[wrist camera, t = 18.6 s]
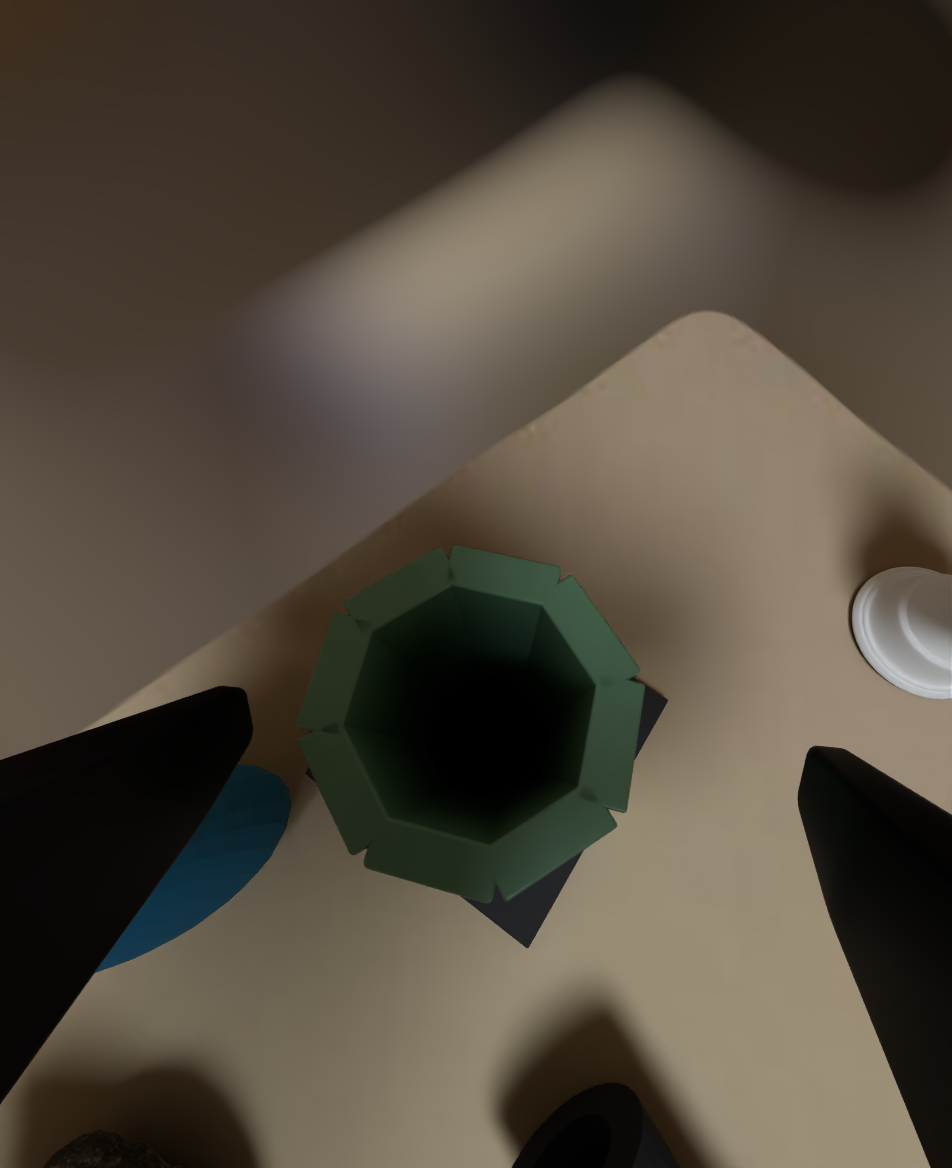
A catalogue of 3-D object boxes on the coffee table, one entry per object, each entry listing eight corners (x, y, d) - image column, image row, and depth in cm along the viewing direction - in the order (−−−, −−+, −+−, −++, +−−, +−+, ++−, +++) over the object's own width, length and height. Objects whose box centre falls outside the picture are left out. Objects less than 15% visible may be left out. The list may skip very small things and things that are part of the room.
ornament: (287, 726, 21) (115, 697, 12) (342, 833, 20) (197, 897, 11) (93, 849, 20) (-268, 927, 11) (137, 972, 19) (-231, 1182, 9)
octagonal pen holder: (601, 763, 20) (709, 764, 9) (458, 857, 19) (403, 973, 9) (512, 624, 22) (520, 498, 11) (377, 706, 21) (252, 651, 10)
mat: (527, 944, 19) (527, 949, 18) (308, 773, 21) (303, 773, 20) (665, 701, 21) (668, 700, 20) (455, 569, 23) (454, 565, 23)
